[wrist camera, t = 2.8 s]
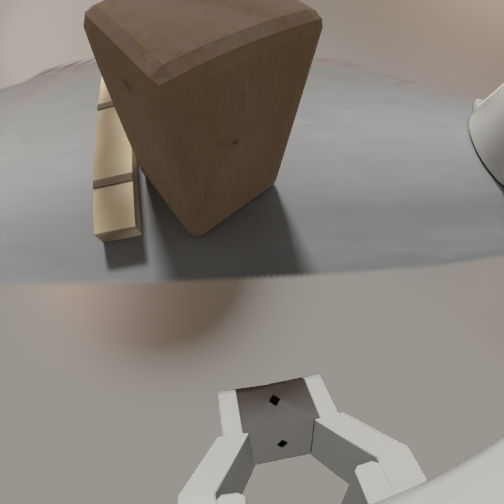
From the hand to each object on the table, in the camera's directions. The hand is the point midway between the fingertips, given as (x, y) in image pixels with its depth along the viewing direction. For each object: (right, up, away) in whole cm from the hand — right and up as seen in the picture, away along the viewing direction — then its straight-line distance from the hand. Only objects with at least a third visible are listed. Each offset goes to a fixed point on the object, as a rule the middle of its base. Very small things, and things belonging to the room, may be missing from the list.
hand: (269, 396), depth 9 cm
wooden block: (-5, +12, +23) cm, 26 cm away
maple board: (-15, +15, +23) cm, 31 cm away
